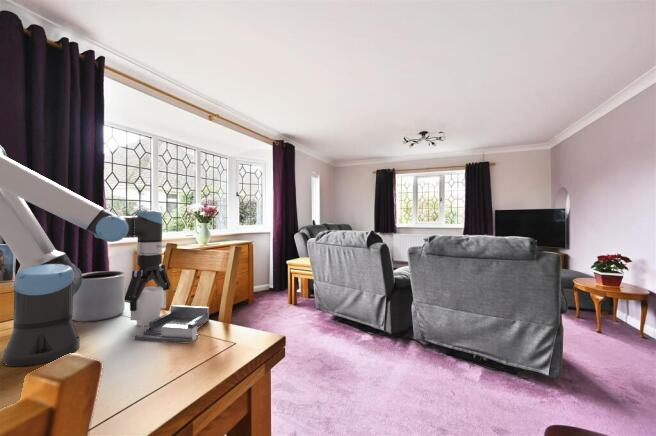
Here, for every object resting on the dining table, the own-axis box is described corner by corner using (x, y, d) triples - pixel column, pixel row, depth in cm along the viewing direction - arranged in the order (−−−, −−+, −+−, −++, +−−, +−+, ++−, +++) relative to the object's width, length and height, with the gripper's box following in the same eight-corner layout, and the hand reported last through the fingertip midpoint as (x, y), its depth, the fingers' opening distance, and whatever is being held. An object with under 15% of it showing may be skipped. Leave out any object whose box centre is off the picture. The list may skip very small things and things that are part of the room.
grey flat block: (161, 339, 92) (161, 322, 92) (166, 336, 94) (166, 320, 94) (192, 341, 91) (192, 324, 91) (196, 338, 93) (196, 322, 93)
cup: (126, 326, 102) (127, 291, 102) (146, 317, 111) (147, 285, 111) (149, 328, 101) (150, 293, 101) (168, 319, 110) (169, 287, 110)
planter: (134, 311, 118) (135, 272, 118) (94, 325, 103) (95, 280, 103) (102, 307, 122) (103, 269, 122) (58, 320, 106) (59, 277, 106)
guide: (134, 339, 91) (134, 336, 91) (145, 333, 96) (145, 330, 96) (190, 343, 90) (190, 340, 90) (198, 337, 94) (198, 334, 94)
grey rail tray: (145, 333, 96) (146, 317, 96) (172, 319, 110) (173, 305, 110) (186, 336, 95) (187, 319, 95) (208, 321, 109) (209, 307, 109)
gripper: (133, 259, 93) (132, 326, 93) (180, 250, 118) (180, 303, 118) (111, 258, 94) (110, 325, 94) (162, 249, 119) (162, 302, 119)
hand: (149, 313), depth 106 cm, fingers open, 13 cm apart
